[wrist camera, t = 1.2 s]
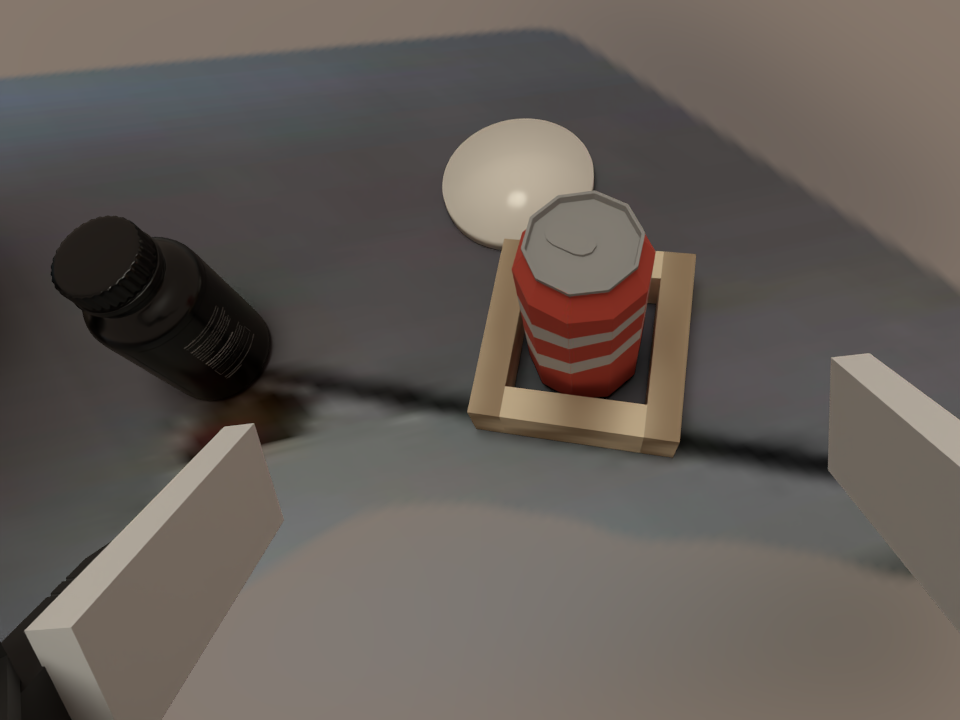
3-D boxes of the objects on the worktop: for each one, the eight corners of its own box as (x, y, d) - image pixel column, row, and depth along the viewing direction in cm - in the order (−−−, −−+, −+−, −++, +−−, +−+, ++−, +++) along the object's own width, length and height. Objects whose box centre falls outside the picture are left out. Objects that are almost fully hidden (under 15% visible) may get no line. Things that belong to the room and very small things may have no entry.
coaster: (431, 244, 43) (427, 235, 42) (461, 125, 47) (459, 115, 46) (582, 257, 41) (582, 248, 40) (602, 132, 45) (603, 121, 44)
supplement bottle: (252, 289, 44) (142, 174, 33) (288, 369, 41) (180, 271, 30) (161, 339, 44) (18, 239, 33) (190, 423, 41) (45, 344, 30)
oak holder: (476, 428, 38) (467, 412, 35) (509, 264, 42) (504, 238, 39) (672, 457, 35) (679, 442, 33) (688, 281, 39) (695, 254, 37)
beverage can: (564, 290, 40) (554, 162, 30) (658, 336, 38) (685, 216, 27) (511, 369, 39) (481, 264, 28) (606, 422, 37) (613, 330, 26)
